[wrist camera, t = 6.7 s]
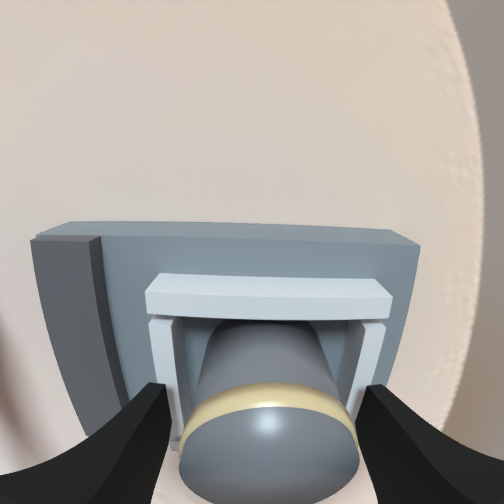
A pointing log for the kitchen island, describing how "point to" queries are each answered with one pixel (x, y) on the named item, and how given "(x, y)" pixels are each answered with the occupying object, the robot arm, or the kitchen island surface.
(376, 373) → the camera body
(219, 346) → the lens
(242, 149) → the kitchen island surface
